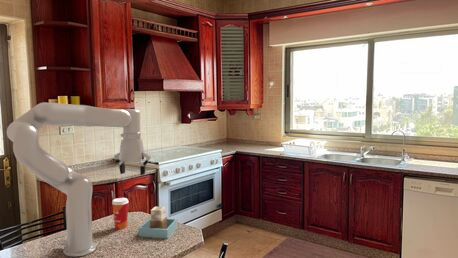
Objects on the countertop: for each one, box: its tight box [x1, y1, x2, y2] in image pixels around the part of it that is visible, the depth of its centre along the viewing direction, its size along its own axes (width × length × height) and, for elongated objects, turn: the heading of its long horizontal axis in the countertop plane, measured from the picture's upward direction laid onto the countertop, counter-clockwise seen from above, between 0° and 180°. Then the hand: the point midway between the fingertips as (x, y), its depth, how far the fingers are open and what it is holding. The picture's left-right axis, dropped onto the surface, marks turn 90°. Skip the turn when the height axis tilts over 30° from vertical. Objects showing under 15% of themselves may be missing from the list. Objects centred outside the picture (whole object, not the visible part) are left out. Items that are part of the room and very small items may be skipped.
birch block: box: [150, 206, 166, 221], centre depth 158 cm, size 5×5×5 cm
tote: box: [138, 217, 178, 239], centre depth 159 cm, size 14×14×4 cm
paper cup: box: [111, 197, 130, 230], centre depth 164 cm, size 8×8×14 cm
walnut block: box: [150, 216, 168, 229], centre depth 159 cm, size 6×6×6 cm
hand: (132, 173), depth 155 cm, fingers open, 9 cm apart
